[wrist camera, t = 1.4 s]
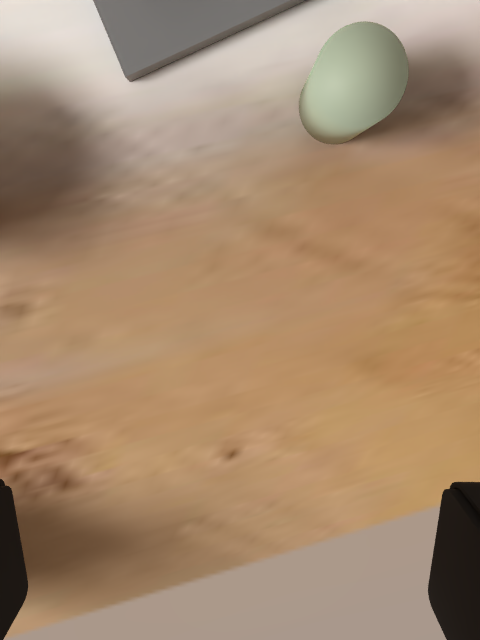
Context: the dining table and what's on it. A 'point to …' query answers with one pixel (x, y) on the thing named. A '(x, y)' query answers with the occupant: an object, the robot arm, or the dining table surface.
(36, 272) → the dining table surface
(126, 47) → the slate board
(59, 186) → the dining table surface
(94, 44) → the dining table surface
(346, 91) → the pale green rounded piece
